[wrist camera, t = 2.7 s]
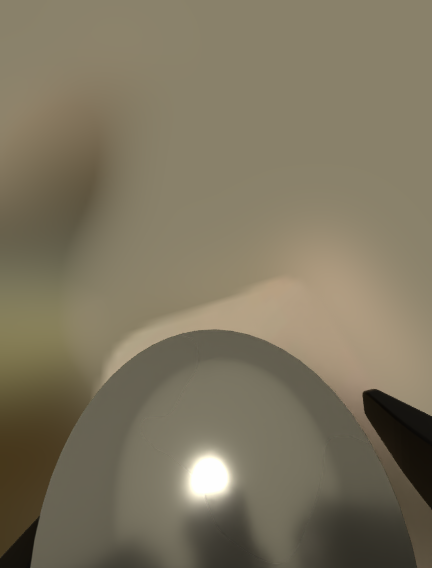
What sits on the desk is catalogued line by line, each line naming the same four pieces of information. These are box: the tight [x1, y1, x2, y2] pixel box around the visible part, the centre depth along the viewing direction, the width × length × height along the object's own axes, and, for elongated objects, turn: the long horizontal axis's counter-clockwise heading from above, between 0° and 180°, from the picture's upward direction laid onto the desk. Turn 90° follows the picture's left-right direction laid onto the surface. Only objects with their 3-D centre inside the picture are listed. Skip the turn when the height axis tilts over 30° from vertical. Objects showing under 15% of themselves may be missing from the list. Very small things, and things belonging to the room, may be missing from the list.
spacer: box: [30, 330, 417, 568], centre depth 8 cm, size 4×4×13 cm
